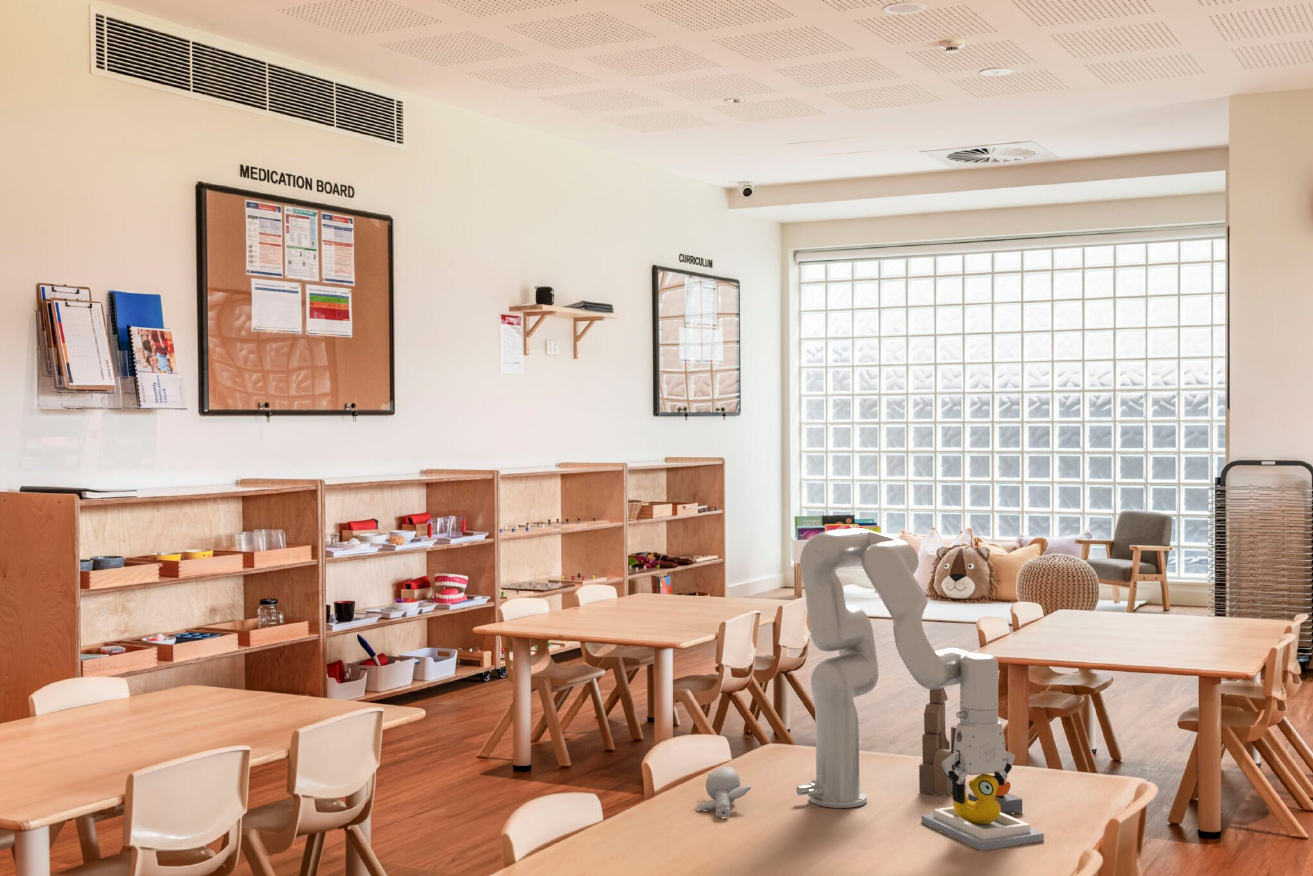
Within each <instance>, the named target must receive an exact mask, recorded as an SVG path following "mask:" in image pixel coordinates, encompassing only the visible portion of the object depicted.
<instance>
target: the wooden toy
mask: <svg viewBox="0 0 1313 876" xmlns="http://www.w3.org/2000/svg"><path fill="white" fill-rule="evenodd" d="M948 699H949V697H948V695H947V692H946V690H945V687H943V688H940V689H935V690H930V689H929V702H927V703H926V704H925V708H924V712H923V719H924V720H923V722H924V723H923V725H924V726H923V731H924V733H923V734H922V735H921V736H922V738H921V739H922V763H920V764H919V765H918V770H919V771H918V772H919V773H918V775H919V776H918V777H919V780H918V781H919V783H918V784H919V786H918V788H919V793H920V794H923V793H924V794H925V795H931V794H933V795H934V794H936V796H941V795H946V796H945V797H948V796H949V795H951V794H952V781H950V779H949V777H948V776H947V775H946V774H945V771H944V769H943V767H942V764H941V763H942V761H944V760H945V759H946V758H948V757H949V756H950V755H952V754H953V753H954V741H955V733H956V728H957V725H952V726H950V741H949V740H948V739H947V734H946V703H945V702H946V701H948ZM954 769H955V768H954V764H953V765H952V770H953V771H954ZM960 773H961V772H960ZM959 775H960V774H959ZM959 775H958V776H959ZM965 782H966V778H965V779H964V781H963V782H962V784H964V783H965ZM950 793H951V794H950Z"/></svg>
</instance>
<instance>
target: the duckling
mask: <svg viewBox="0 0 1313 876" xmlns="http://www.w3.org/2000/svg"><path fill="white" fill-rule="evenodd" d="M988 774H989V773H987V774H979V775H976V776H975V777H974V778H972V779H969V781H968V787H969V789H970V790H971V791H972V792H971V793H973V794H974V795H975V796H976V797H977V798H978V800H977V801H976V802H972V801H970V800H968V794H967V793H966V791H965V803H964V804H960V803H958V802H956V801H954V800H953V799H952V801H953V807H954V809H955V812H956V813H957V815H958V816H959V817H961V818H962V819H964V820H966V821H968V822H971V823H976V824H989V823H991V822H993V821H994V820H995V819H996V818H997V817H998V816H999V814H1000V811H1001V807H1000V804H999V803H998V801H997V800H996V799H995V796H996V795H997V796H1003V795H1005V794H1007V793H1008V794H1009V792H1010V790H1011V783H1010V781H1007V783H1006V784H1004V785H999V784H998V781H997V780H996V778H994V777H993V776H991V775H988Z"/></svg>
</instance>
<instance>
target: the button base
mask: <svg viewBox="0 0 1313 876" xmlns="http://www.w3.org/2000/svg"><path fill="white" fill-rule="evenodd" d="M967 798H968V800H970V801H972V802H976V801H977V800H978V798H977V797H976V796H975V795H974V794H973V792H970V793H967ZM995 799H996V800H997V801H998V803H999V804H1000V807H1001V811H1000V812H1001V813H1004V814H1006V815H1008V814H1012V813H1019V814H1021V813H1020V812H1022V813H1023V798H1021V797H1019V796H1015V795H1013V794H1011V793H1009V792H1008V793H1007V794H1005V795H1004V798H1003V799H1000V798H998V797H996V796H995ZM1012 815H1013V814H1012Z"/></svg>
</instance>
